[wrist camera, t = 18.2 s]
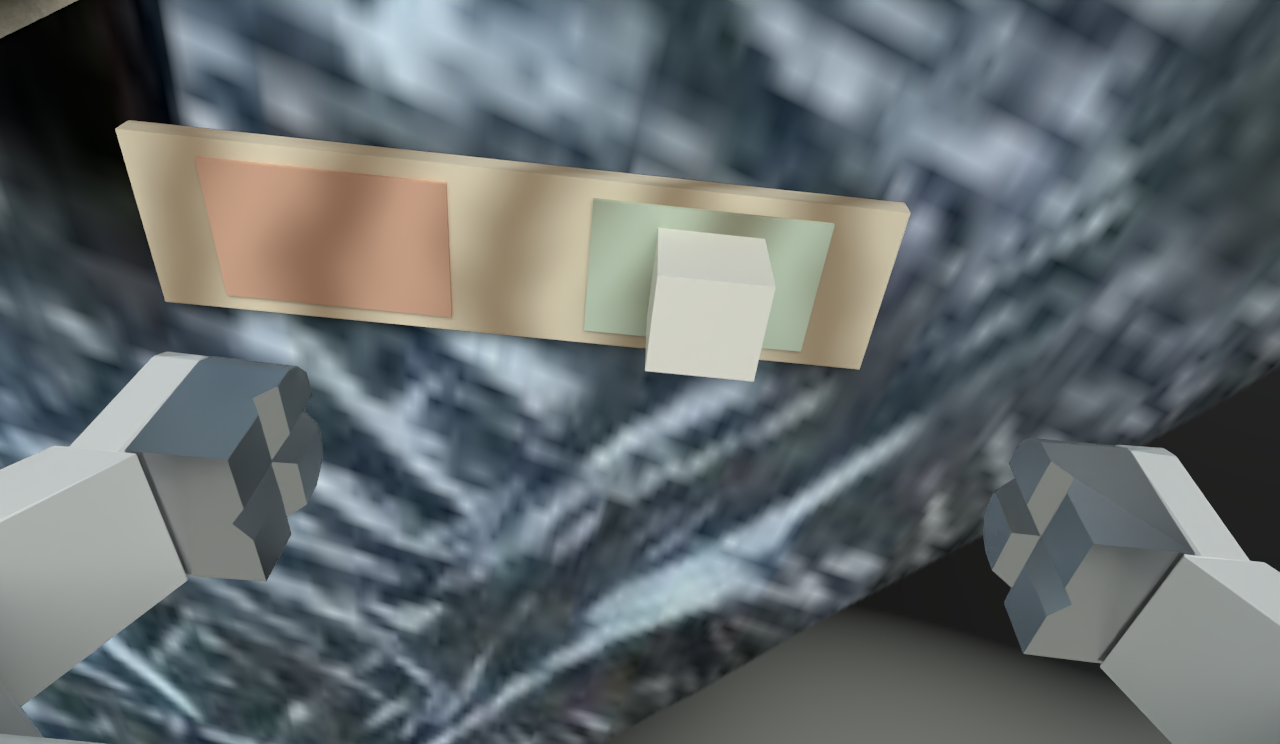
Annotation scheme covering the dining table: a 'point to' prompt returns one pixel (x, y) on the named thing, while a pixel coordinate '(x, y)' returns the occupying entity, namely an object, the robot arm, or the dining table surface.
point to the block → (708, 304)
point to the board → (485, 240)
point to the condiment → (26, 12)
